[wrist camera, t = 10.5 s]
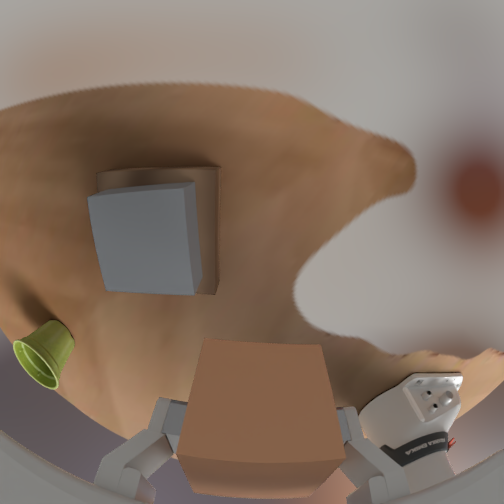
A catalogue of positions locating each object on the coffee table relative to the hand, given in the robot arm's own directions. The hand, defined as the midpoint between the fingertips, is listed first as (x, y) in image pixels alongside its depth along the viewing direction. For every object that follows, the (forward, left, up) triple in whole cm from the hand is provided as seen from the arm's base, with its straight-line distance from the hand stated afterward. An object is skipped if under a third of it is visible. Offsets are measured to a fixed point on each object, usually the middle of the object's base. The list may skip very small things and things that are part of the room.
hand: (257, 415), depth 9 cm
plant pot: (+31, +18, -20) cm, 41 cm away
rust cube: (0, 0, -2) cm, 2 cm away
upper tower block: (+10, -1, -17) cm, 20 cm away
